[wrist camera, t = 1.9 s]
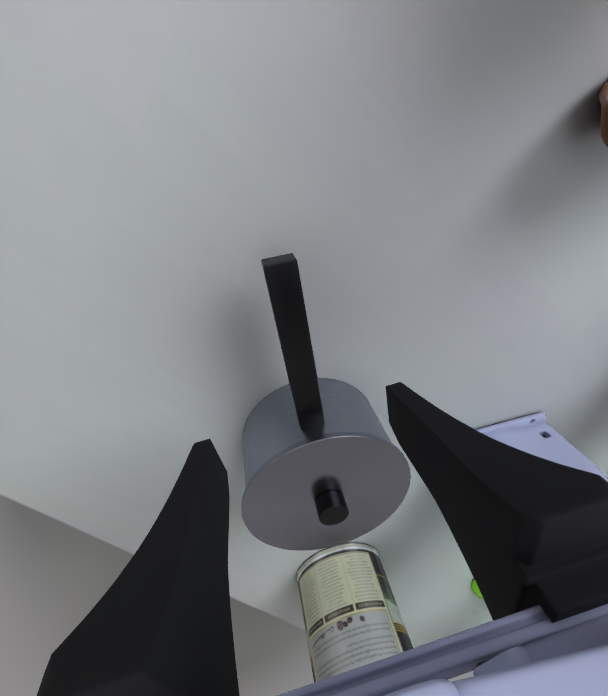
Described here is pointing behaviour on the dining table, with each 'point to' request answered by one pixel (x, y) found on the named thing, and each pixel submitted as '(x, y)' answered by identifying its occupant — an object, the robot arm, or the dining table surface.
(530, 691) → the robot arm
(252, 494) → the saucepan
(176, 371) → the dining table surface
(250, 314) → the dining table surface
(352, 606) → the coffee can
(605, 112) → the tin
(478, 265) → the dining table surface
